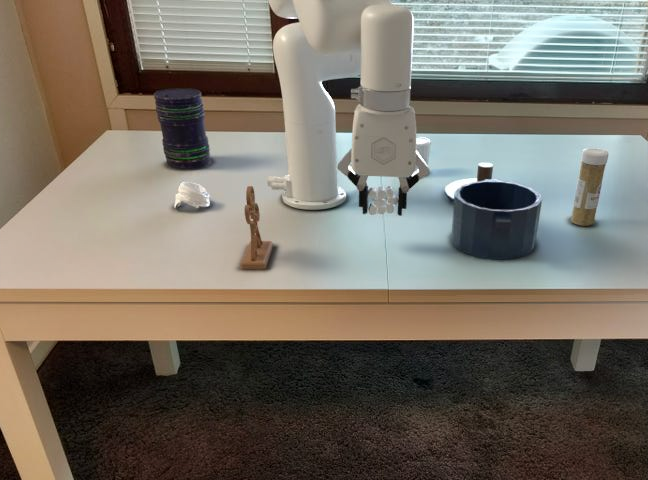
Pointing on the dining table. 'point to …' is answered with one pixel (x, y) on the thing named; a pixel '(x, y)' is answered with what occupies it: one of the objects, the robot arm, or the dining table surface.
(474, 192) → the pot
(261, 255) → the brown upright openwork piece
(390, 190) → the white marshmallow cluster
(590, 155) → the sprinkles bottle
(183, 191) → the whipped cream
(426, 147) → the white cup
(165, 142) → the storage jar
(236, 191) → the dining table surface
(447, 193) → the pot lid
